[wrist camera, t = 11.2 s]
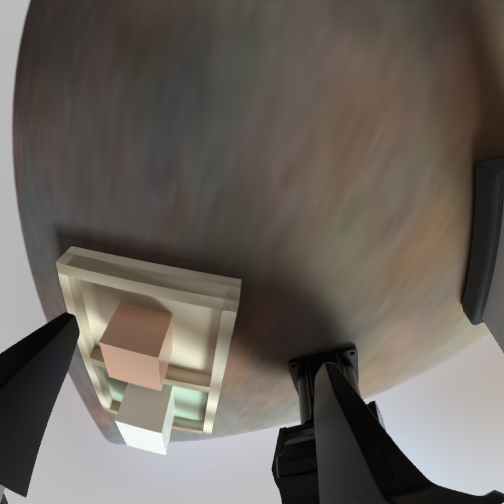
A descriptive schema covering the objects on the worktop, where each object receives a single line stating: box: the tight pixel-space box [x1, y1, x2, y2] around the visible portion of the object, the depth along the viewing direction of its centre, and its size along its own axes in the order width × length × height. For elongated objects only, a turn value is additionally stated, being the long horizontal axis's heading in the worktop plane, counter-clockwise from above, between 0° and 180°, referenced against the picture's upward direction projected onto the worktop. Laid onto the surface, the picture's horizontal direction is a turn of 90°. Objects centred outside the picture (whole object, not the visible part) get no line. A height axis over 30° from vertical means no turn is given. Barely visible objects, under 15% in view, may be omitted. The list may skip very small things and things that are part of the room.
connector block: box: [115, 383, 175, 455], centre depth 26 cm, size 4×7×6 cm, turn 169°
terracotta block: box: [99, 302, 173, 391], centre depth 21 cm, size 4×4×4 cm
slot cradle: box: [56, 246, 242, 436], centre depth 25 cm, size 23×14×2 cm, turn 169°
